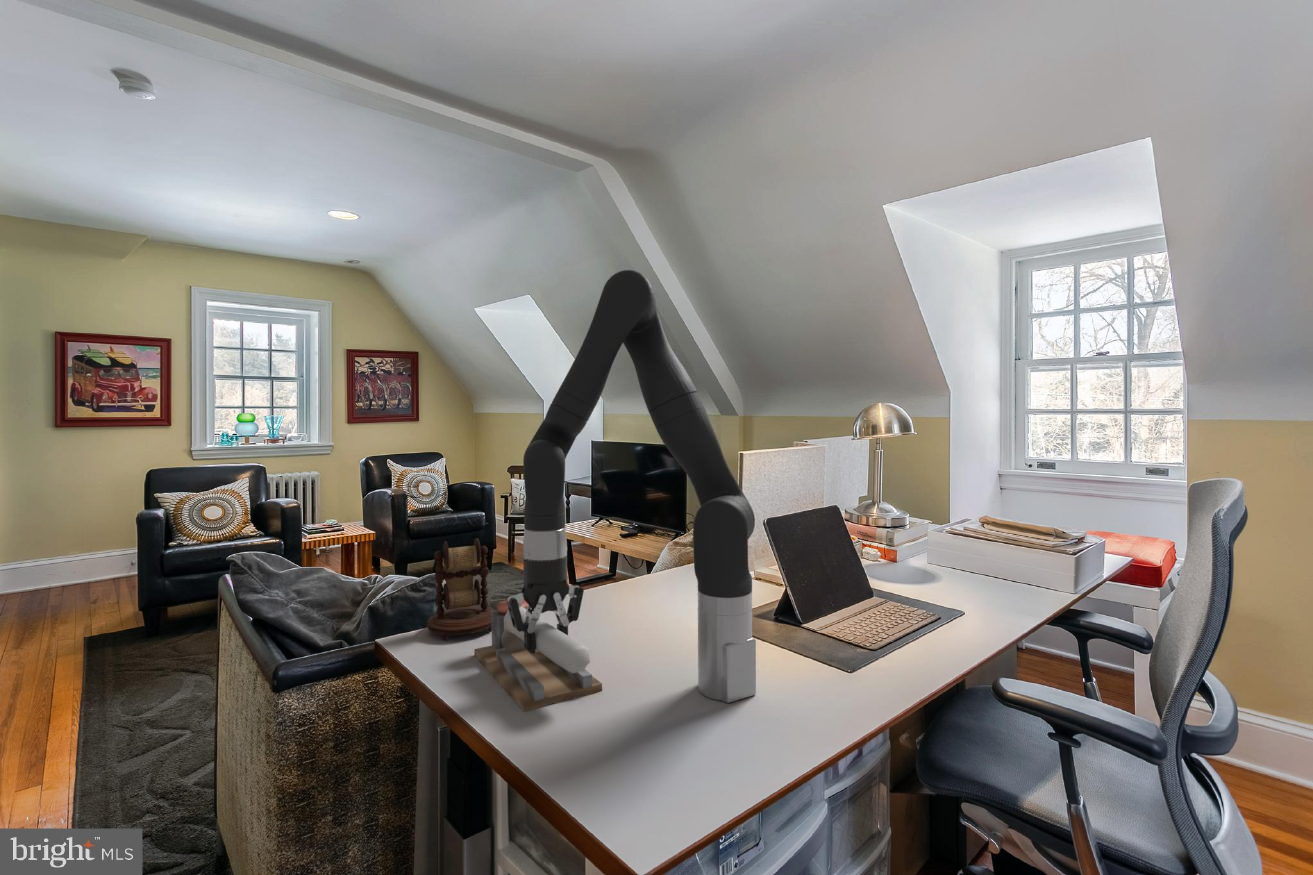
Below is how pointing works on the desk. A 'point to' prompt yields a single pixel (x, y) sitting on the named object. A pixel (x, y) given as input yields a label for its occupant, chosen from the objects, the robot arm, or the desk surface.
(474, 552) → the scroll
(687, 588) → the desk surface
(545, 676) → the pipe rack
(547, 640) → the tube
